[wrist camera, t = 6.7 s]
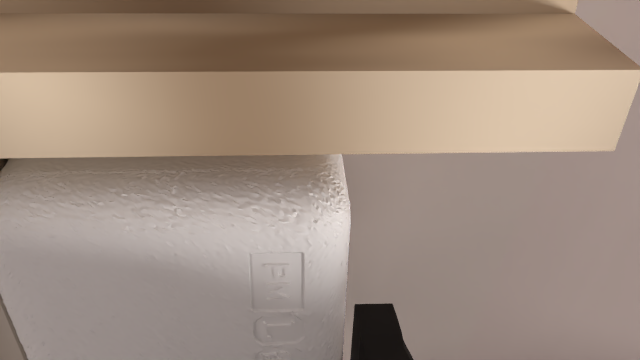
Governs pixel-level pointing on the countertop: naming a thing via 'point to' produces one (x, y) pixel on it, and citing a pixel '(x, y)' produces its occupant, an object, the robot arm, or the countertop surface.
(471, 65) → the soap dock
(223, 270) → the soap
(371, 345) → the robot arm
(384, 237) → the countertop surface
